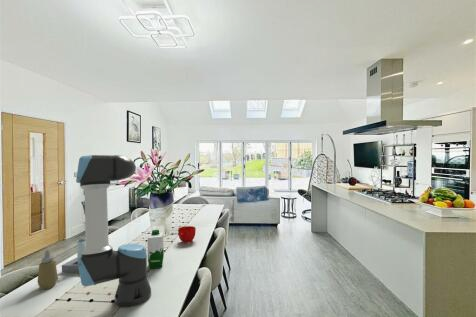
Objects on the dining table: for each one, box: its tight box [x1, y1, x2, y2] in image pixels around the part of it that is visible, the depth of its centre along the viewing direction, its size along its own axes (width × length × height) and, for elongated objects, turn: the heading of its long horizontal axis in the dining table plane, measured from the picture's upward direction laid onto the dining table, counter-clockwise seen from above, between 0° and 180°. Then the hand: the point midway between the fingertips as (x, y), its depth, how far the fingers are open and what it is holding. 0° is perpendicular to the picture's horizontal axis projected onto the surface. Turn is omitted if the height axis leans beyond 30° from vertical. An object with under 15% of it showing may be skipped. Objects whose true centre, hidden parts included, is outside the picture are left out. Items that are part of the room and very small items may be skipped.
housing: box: [61, 249, 116, 274], centre depth 151 cm, size 24×16×4 cm, turn 173°
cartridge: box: [76, 237, 86, 263], centre depth 145 cm, size 5×5×17 cm
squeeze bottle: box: [37, 249, 59, 290], centre depth 124 cm, size 8×8×18 cm
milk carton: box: [147, 229, 165, 270], centre depth 147 cm, size 9×9×20 cm
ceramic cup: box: [177, 225, 197, 244], centre depth 187 cm, size 13×17×10 cm
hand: (91, 227), depth 152 cm, fingers closed
